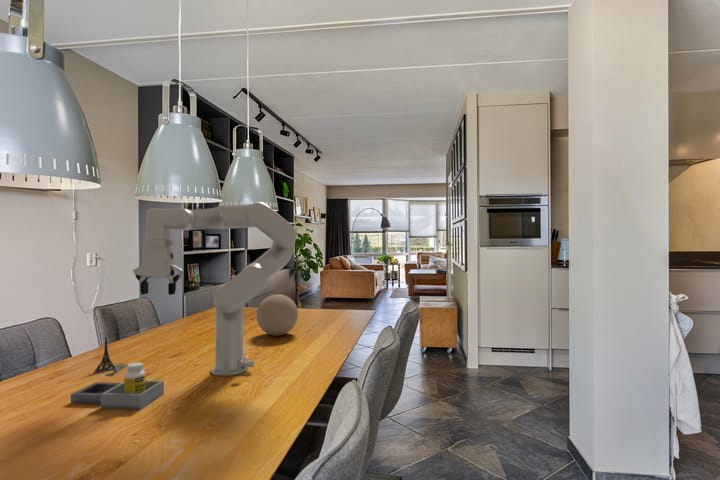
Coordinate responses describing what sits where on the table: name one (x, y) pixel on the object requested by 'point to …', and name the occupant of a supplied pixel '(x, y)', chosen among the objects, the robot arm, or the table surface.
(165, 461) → the table surface
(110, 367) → the eiffel tower figurine
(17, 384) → the table surface
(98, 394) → the socket collar
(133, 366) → the supplement bottle
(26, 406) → the table surface
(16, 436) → the table surface
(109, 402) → the tray
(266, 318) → the decorative sphere
